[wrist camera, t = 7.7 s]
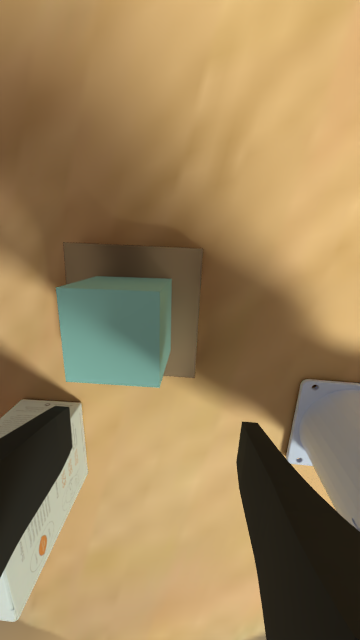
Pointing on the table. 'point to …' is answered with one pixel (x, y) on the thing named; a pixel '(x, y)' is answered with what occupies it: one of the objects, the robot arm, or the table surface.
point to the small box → (41, 508)
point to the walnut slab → (150, 264)
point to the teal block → (116, 330)
